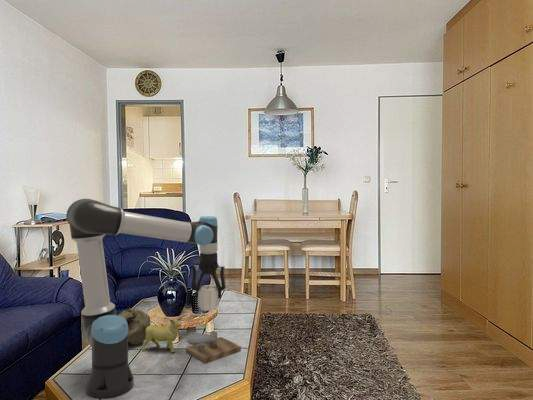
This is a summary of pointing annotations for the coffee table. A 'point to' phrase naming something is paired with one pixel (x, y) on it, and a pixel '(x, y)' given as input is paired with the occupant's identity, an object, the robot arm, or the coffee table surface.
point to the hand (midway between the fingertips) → (208, 305)
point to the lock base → (213, 349)
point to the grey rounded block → (208, 297)
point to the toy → (162, 334)
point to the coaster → (198, 338)
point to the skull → (136, 324)
